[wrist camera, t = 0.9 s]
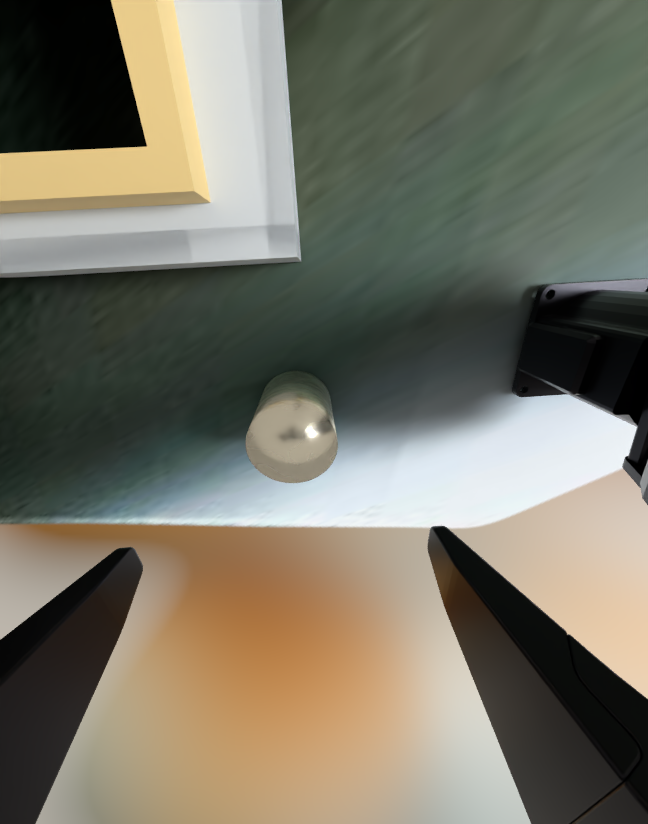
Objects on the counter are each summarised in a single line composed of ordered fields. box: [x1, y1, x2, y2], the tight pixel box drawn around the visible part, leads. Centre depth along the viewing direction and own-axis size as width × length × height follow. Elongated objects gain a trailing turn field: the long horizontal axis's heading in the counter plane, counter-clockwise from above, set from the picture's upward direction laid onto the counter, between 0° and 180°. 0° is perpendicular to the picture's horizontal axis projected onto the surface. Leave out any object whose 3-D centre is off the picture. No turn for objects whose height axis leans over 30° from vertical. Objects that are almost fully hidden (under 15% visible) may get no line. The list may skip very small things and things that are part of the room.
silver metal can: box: [246, 371, 338, 483], centre depth 16 cm, size 4×4×5 cm
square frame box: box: [0, 0, 301, 278], centre depth 9 cm, size 14×12×6 cm
